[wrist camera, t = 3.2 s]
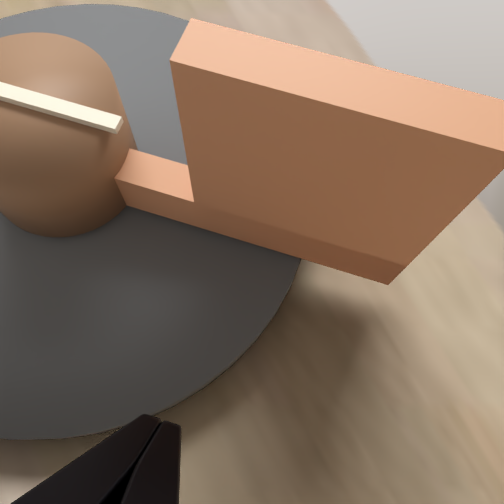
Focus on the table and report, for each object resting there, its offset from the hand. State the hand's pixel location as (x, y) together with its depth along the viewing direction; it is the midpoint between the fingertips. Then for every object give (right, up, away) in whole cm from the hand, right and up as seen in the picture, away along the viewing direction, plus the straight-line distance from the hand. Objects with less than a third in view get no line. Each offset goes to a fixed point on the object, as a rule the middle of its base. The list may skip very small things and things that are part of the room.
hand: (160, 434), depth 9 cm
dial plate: (-7, +7, +14) cm, 17 cm away
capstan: (-1, +6, +12) cm, 13 cm away
